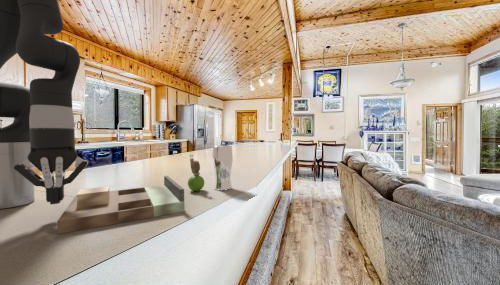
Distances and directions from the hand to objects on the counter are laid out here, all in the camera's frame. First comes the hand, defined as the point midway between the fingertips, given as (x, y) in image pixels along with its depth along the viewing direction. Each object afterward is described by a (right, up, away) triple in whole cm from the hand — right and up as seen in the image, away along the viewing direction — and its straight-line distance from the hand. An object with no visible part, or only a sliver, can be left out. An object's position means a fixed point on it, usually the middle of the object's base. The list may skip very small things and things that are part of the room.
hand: (55, 203), depth 50 cm
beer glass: (+35, -3, +28) cm, 44 cm away
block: (+6, -1, +4) cm, 7 cm away
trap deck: (+12, -3, +8) cm, 15 cm away
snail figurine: (+26, -3, +25) cm, 36 cm away
